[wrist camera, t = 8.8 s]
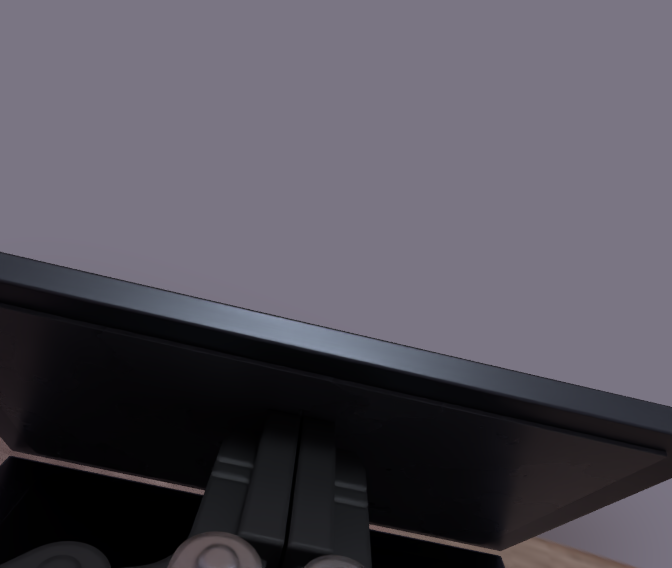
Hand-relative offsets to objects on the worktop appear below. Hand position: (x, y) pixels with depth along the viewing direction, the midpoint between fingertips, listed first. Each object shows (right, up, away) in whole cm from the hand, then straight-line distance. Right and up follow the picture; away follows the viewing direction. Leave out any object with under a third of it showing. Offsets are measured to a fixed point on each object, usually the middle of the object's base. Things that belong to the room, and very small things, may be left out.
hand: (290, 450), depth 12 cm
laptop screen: (0, -1, +2) cm, 2 cm away
